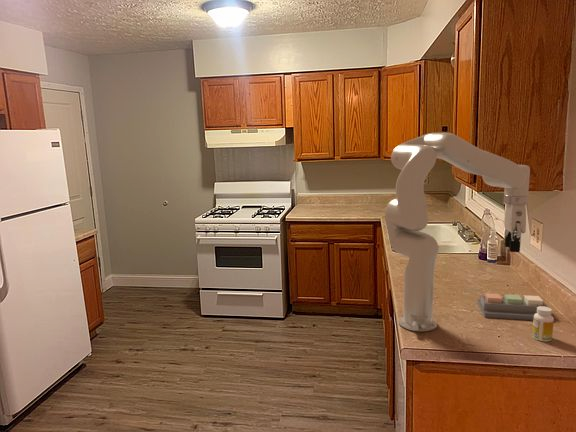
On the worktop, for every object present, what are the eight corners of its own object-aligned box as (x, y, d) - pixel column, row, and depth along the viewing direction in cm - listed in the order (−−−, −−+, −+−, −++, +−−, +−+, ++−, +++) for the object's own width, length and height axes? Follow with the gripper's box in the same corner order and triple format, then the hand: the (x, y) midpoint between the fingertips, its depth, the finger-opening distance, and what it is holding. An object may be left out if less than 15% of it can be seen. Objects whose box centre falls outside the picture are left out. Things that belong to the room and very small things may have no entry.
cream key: (542, 309, 152) (543, 300, 151) (527, 308, 153) (528, 300, 152) (537, 304, 156) (538, 296, 156) (523, 303, 157) (524, 295, 157)
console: (551, 321, 148) (552, 310, 147) (484, 317, 153) (485, 306, 152) (538, 306, 161) (539, 296, 160) (477, 303, 165) (477, 293, 164)
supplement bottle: (553, 337, 137) (556, 308, 135) (549, 343, 133) (552, 313, 131) (534, 332, 140) (536, 303, 139) (529, 338, 137) (532, 309, 135)
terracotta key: (501, 307, 155) (502, 298, 154) (487, 306, 156) (488, 297, 155) (498, 302, 159) (499, 293, 159) (484, 301, 160) (485, 293, 160)
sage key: (521, 308, 153) (522, 299, 153) (507, 307, 154) (508, 298, 154) (518, 303, 158) (518, 294, 157) (504, 302, 159) (504, 294, 158)
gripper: (535, 204, 146) (530, 256, 149) (520, 196, 162) (516, 243, 166) (510, 203, 148) (506, 255, 151) (498, 196, 164) (495, 243, 167)
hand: (512, 248), depth 158 cm, fingers open, 5 cm apart
